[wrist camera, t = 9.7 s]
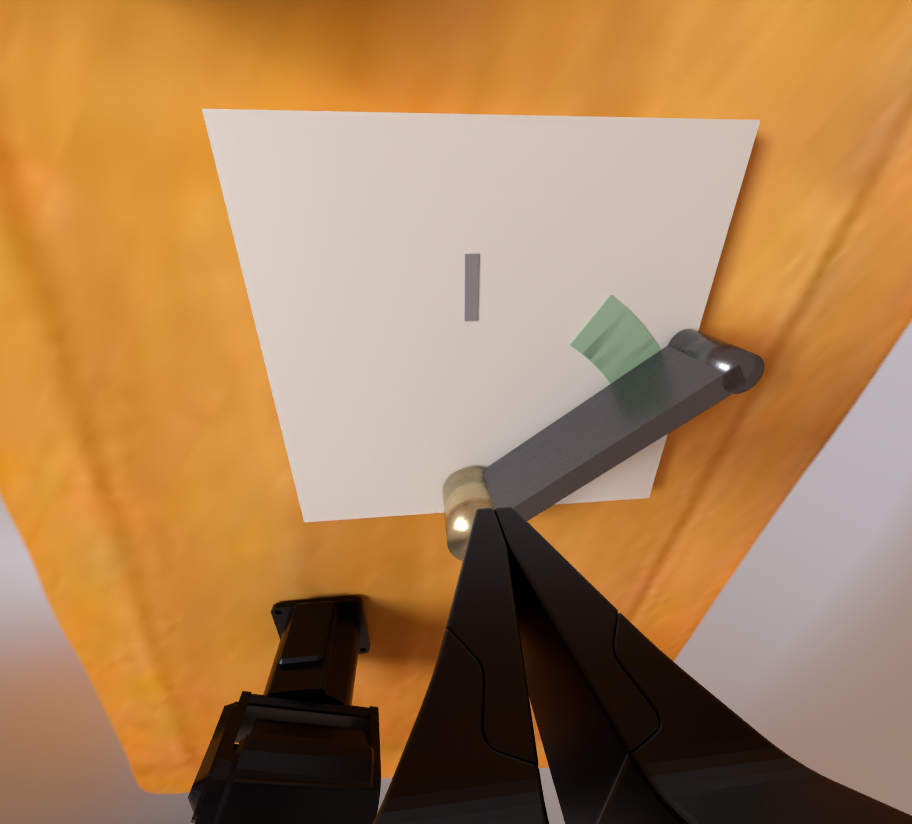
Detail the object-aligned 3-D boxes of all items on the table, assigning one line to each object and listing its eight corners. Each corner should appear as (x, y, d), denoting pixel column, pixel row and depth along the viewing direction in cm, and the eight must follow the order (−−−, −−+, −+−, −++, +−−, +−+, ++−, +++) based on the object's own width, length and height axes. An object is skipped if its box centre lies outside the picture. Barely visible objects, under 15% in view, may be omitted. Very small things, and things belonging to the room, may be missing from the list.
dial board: (637, 483, 26) (649, 499, 25) (310, 505, 24) (303, 523, 23) (733, 127, 17) (762, 119, 16) (220, 118, 15) (200, 108, 14)
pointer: (463, 518, 24) (472, 571, 20) (431, 488, 22) (434, 539, 19) (710, 358, 20) (773, 388, 17) (689, 310, 19) (752, 332, 15)
